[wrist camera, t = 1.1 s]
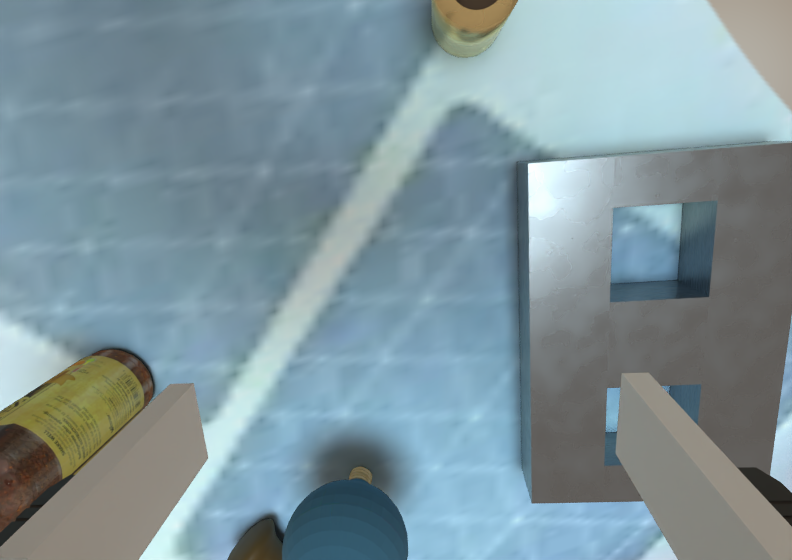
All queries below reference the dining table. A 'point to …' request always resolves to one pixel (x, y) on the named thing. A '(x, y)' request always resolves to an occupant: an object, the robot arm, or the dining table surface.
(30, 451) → the sauce bottle
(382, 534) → the light bulb
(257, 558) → the kendama
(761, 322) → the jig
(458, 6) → the bushing
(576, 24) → the dining table surface
